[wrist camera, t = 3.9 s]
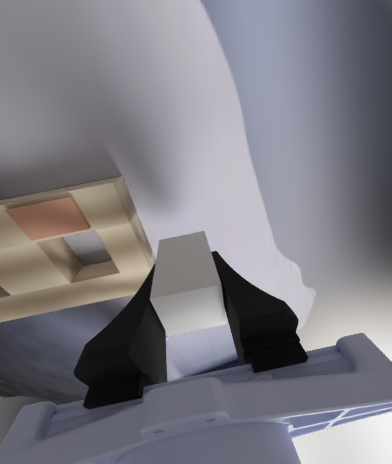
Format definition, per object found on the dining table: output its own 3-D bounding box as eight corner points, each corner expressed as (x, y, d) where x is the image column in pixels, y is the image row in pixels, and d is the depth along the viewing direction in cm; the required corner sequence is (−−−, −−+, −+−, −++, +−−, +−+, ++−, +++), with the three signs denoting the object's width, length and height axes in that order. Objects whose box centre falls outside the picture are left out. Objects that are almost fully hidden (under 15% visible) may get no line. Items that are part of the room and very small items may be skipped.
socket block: (160, 272, 23) (158, 291, 20) (-14, 308, 23) (-41, 333, 20) (122, 175, 16) (110, 183, 13) (-131, 226, 16) (-200, 245, 13)
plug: (209, 264, 16) (226, 324, 11) (170, 272, 16) (168, 336, 11) (204, 230, 14) (221, 284, 9) (159, 240, 14) (149, 299, 9)
